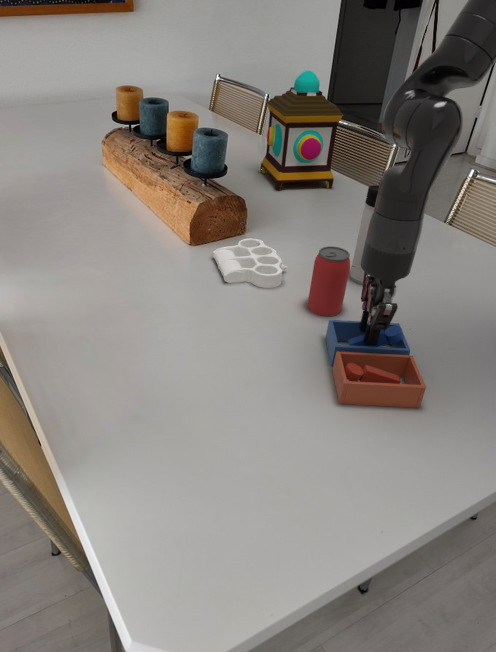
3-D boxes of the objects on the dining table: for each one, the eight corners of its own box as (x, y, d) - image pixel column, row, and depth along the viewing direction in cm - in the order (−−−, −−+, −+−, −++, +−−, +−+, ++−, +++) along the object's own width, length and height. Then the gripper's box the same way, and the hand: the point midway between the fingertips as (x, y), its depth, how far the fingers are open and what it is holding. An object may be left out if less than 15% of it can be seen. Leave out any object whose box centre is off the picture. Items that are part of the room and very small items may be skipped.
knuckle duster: (209, 254, 123) (271, 250, 126) (227, 293, 109) (296, 288, 112) (210, 240, 121) (272, 236, 124) (228, 278, 107) (298, 273, 110)
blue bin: (393, 344, 97) (399, 323, 94) (403, 372, 91) (410, 350, 88) (324, 340, 97) (328, 319, 94) (330, 368, 91) (335, 346, 88)
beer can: (299, 306, 106) (308, 249, 99) (324, 298, 109) (334, 242, 102) (323, 322, 102) (334, 263, 95) (348, 312, 105) (360, 255, 98)
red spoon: (390, 383, 87) (398, 372, 86) (394, 395, 85) (402, 384, 84) (341, 368, 85) (348, 356, 84) (344, 379, 83) (351, 367, 82)
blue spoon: (354, 357, 93) (349, 347, 91) (351, 348, 95) (347, 337, 93) (405, 339, 90) (401, 328, 89) (401, 330, 92) (398, 319, 91)
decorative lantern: (338, 192, 159) (358, 77, 141) (273, 194, 155) (285, 77, 137) (314, 170, 175) (329, 64, 156) (254, 172, 171) (263, 63, 152)
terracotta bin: (405, 377, 90) (412, 355, 87) (418, 410, 83) (426, 387, 80) (331, 373, 90) (336, 351, 87) (338, 406, 83) (343, 383, 80)
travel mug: (342, 279, 116) (361, 185, 104) (360, 270, 120) (380, 179, 107) (366, 291, 112) (389, 195, 100) (384, 281, 116) (408, 188, 104)
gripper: (429, 263, 75) (399, 363, 86) (405, 223, 86) (381, 316, 97) (375, 261, 75) (351, 360, 86) (358, 221, 87) (339, 314, 97)
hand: (367, 336), depth 91 cm, fingers open, 3 cm apart
